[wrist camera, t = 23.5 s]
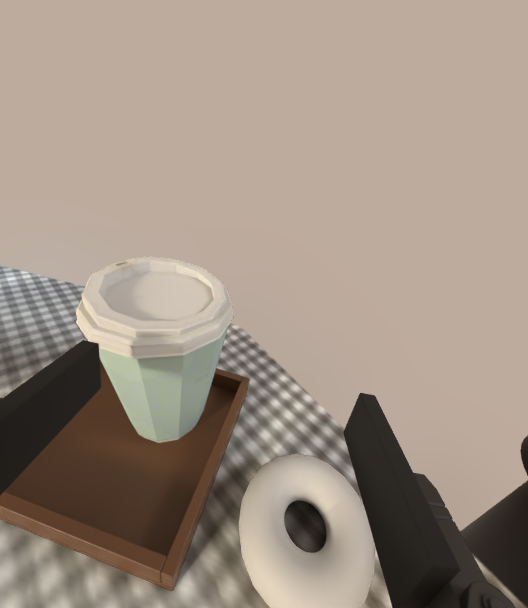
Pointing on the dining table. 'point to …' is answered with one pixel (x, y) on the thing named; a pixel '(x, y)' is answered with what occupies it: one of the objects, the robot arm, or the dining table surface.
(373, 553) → the donut
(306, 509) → the dining table surface
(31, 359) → the dining table surface
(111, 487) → the tray
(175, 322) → the disposable coffee cup
